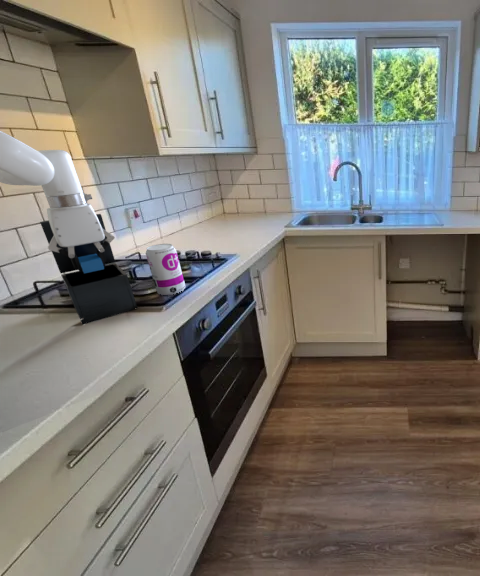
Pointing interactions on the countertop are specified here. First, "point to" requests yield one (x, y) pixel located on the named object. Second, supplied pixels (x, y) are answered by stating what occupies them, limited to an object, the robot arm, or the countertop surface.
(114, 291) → the bin
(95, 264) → the blue rectangular block
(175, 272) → the supplement can
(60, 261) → the bin lid
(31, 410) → the countertop surface
